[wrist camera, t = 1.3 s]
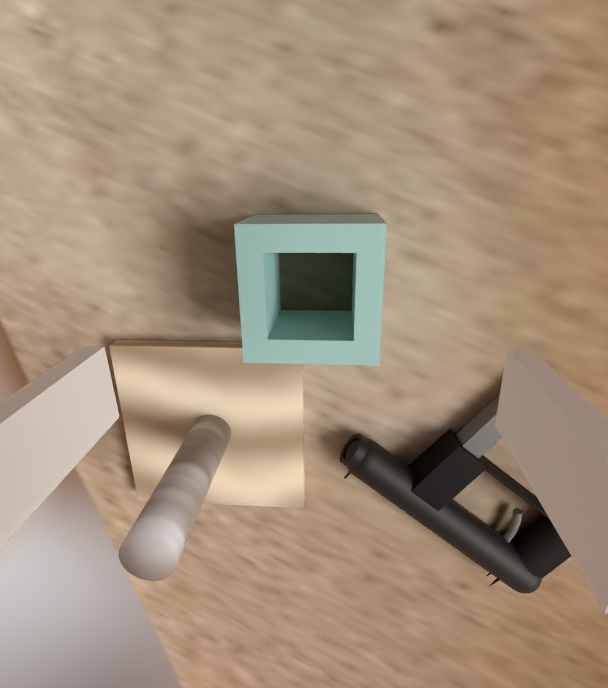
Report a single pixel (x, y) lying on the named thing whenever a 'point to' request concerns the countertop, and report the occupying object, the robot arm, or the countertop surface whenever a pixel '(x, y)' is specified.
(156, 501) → the peg stand
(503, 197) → the countertop surface
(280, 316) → the collar
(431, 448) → the black toy gun
